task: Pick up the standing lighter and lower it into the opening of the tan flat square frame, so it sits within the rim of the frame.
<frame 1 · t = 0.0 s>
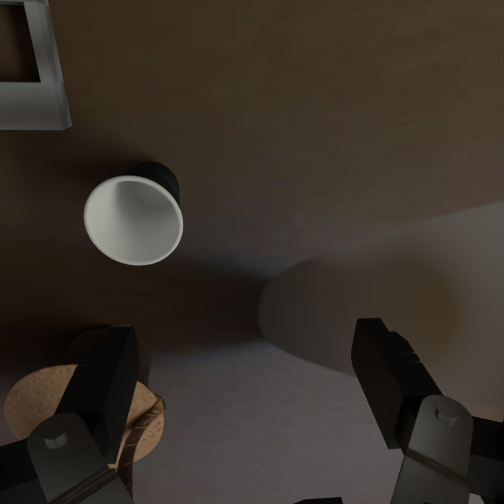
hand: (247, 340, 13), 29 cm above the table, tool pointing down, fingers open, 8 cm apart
pitcher: (113, 355, 51), on the table
dixie cup: (155, 183, 40), on the table
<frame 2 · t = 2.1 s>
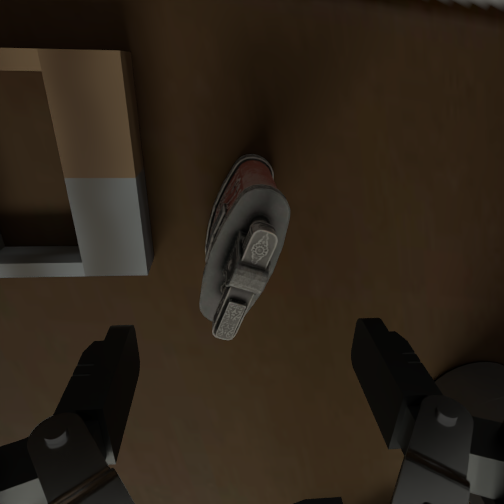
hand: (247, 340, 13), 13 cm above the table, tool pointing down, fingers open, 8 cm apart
tan flat square frame: (30, 167, 23), on the table
lighter: (237, 209, 26), on the table
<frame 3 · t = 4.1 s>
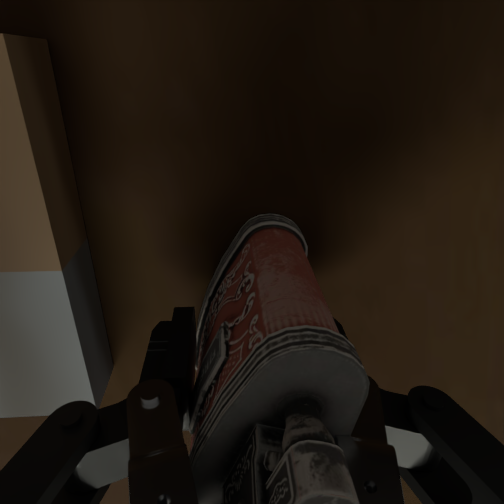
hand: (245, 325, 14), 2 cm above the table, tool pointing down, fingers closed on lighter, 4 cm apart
lighter: (245, 296, 16), on the table, touching gripper
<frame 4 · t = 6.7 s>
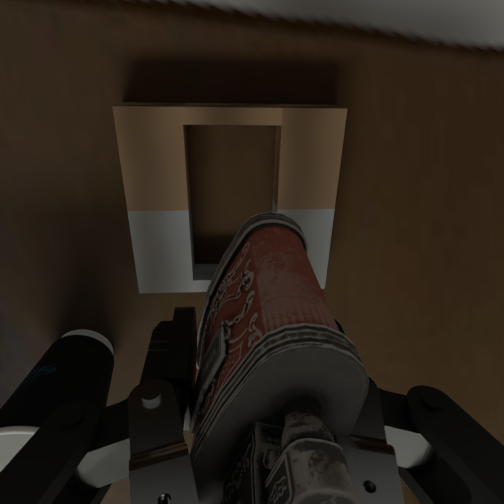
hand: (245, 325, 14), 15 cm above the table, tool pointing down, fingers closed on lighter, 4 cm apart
tan flat square frame: (232, 197, 27), on the table
lighter: (246, 295, 16), point 13 cm above the table, touching gripper
dixie cup: (86, 349, 33), on the table
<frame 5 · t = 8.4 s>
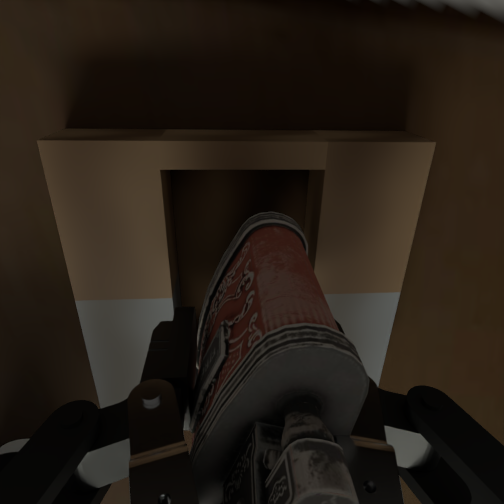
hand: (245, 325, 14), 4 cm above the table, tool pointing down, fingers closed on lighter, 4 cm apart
tan flat square frame: (240, 267, 18), on the table
lighter: (246, 295, 16), point 3 cm above the table, touching gripper
dixie cup: (36, 460, 24), on the table
when the fingers open (3 cm above the table, at t = 9.5 s): lighter drops 1 cm, resting in tan flat square frame.
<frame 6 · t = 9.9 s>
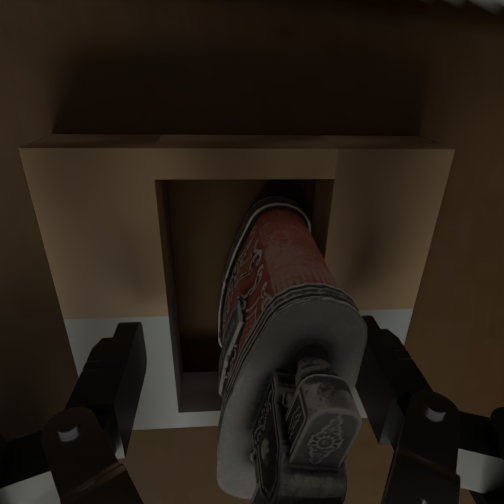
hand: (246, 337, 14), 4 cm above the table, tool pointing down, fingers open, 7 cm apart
tan flat square frame: (241, 281, 17), on the table
lighter: (259, 276, 17), resting in tan flat square frame
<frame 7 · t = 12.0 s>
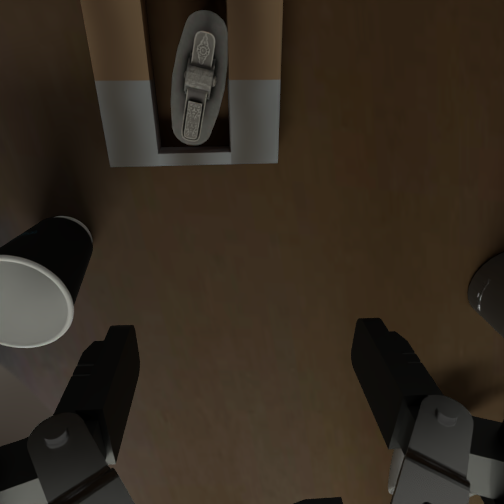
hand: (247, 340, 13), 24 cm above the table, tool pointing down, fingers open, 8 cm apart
tan flat square frame: (191, 78, 30), on the table
lighter: (201, 76, 31), resting in tan flat square frame
teapot: (426, 420, 55), on the table
dixie cup: (67, 237, 36), on the table
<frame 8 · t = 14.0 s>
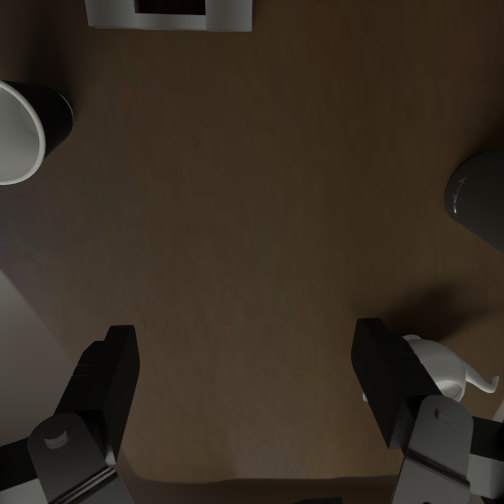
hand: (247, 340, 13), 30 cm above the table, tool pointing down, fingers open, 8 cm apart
teapot: (407, 345, 55), on the table
dixie cup: (49, 113, 37), on the table
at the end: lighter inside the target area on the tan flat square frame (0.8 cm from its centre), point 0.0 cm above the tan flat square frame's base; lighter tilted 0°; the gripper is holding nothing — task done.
